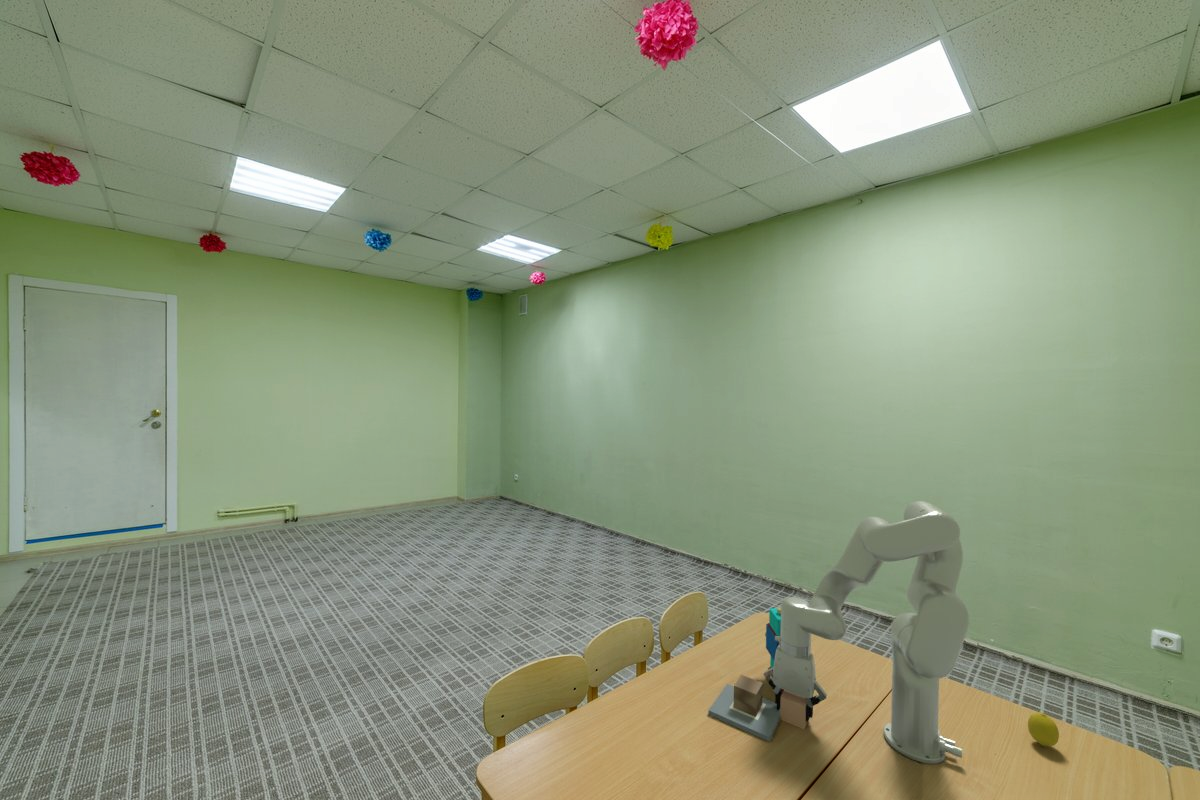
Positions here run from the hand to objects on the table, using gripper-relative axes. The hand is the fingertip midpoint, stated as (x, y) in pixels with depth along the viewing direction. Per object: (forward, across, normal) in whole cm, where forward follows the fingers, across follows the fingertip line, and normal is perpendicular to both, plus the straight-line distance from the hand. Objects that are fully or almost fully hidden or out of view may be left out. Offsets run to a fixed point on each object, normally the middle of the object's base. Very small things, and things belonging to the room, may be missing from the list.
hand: (793, 712), depth 121 cm
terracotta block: (+1, 0, 0) cm, 2 cm away
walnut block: (0, -11, -5) cm, 12 cm away
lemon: (+1, +52, +27) cm, 59 cm away
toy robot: (+2, -7, +13) cm, 15 cm away
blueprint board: (+1, -11, -6) cm, 12 cm away
